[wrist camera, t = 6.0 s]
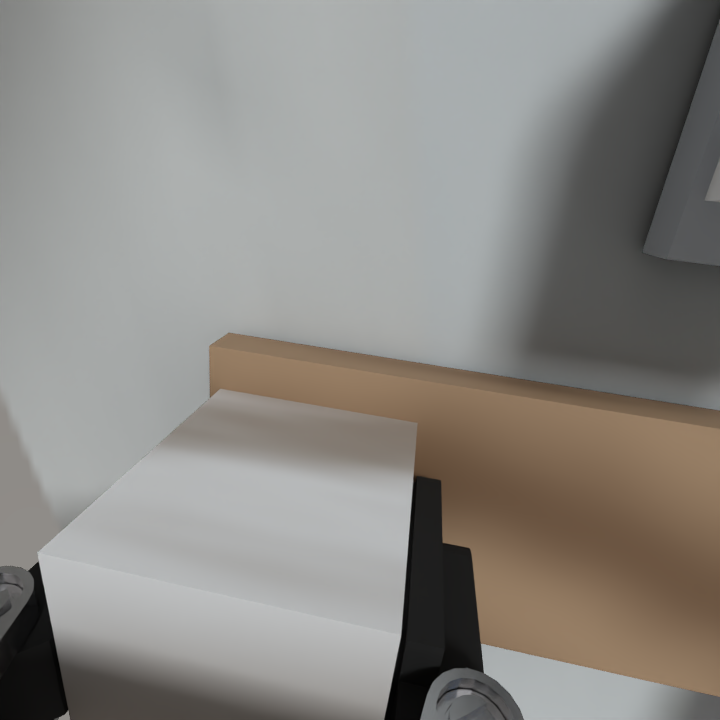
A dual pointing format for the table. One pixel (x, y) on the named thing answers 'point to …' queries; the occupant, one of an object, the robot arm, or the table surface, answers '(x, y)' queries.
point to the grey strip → (693, 179)
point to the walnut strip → (549, 503)
